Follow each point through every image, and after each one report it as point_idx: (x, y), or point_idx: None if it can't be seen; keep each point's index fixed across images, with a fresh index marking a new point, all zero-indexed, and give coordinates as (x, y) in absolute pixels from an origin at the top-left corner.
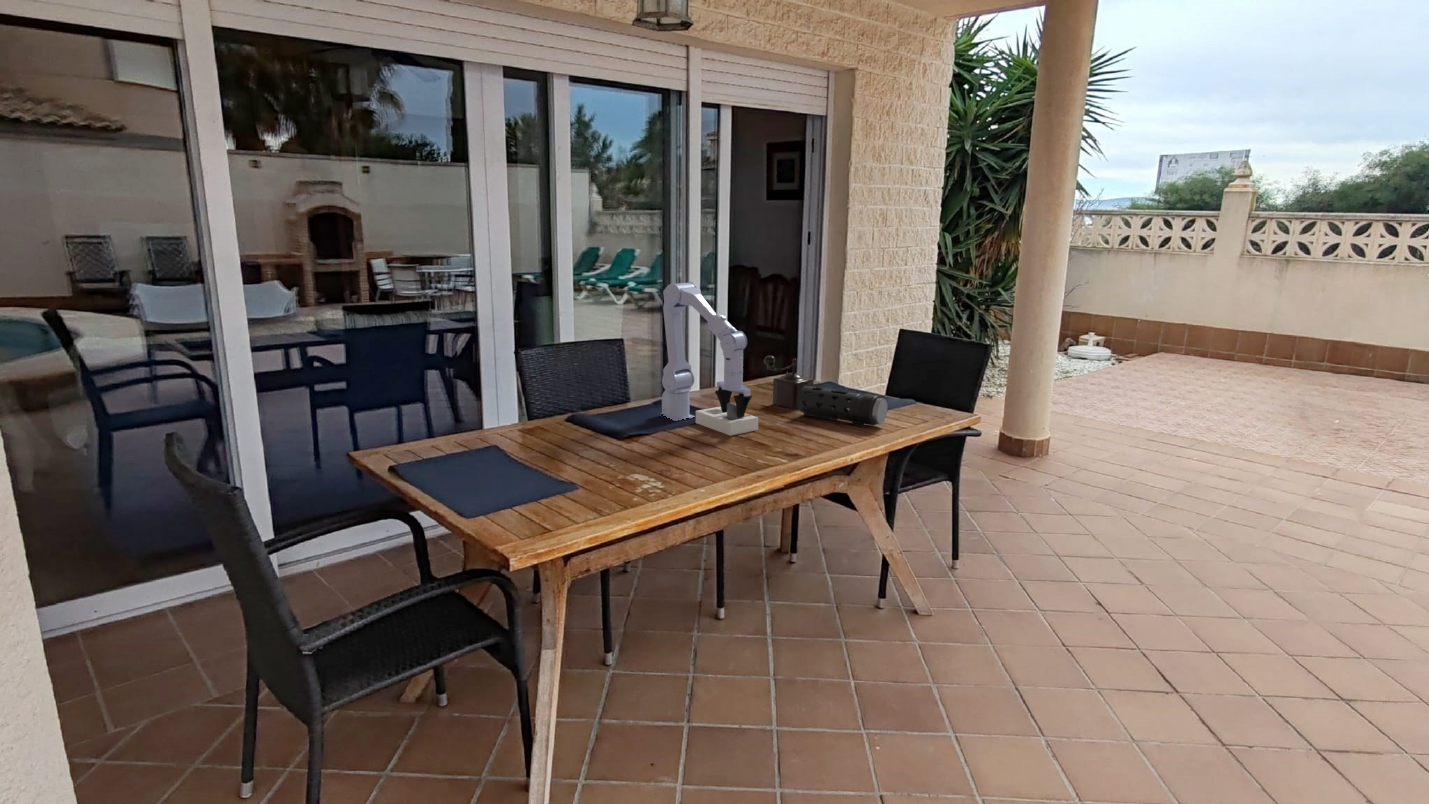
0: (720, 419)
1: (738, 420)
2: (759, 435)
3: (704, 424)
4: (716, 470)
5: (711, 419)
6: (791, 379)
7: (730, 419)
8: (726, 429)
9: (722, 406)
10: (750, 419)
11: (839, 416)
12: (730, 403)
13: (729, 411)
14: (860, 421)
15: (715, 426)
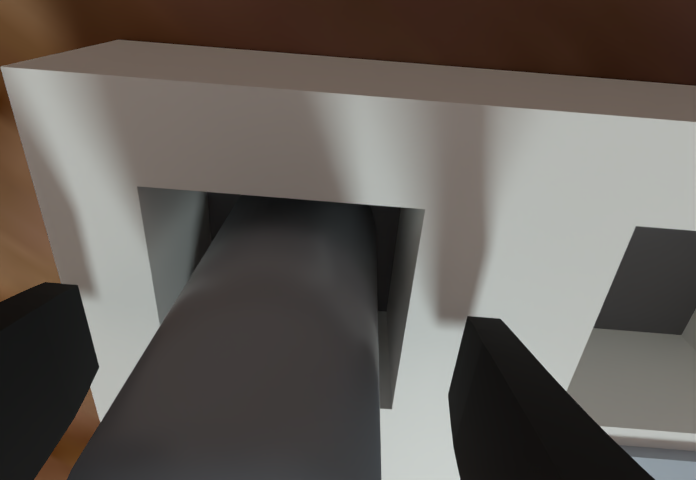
0: (310, 92)
1: (94, 267)
2: (4, 282)
3: (693, 89)
4: None
5: (572, 101)
6: None
7: (235, 235)
8: (176, 55)
9: (506, 391)
10: (97, 401)
11: None
12: None
13: (216, 310)
14: None
15: (442, 74)
